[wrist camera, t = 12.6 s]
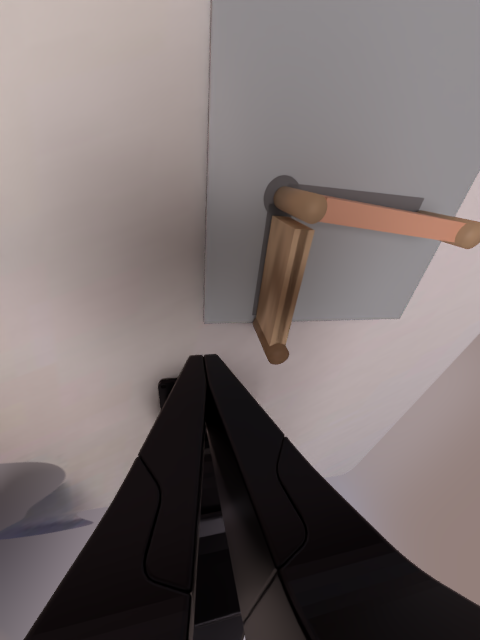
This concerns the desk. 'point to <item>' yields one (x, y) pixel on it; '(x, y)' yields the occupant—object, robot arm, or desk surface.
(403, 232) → the fence panel
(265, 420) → the robot arm
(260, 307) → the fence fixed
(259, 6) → the card
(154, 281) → the desk surface
